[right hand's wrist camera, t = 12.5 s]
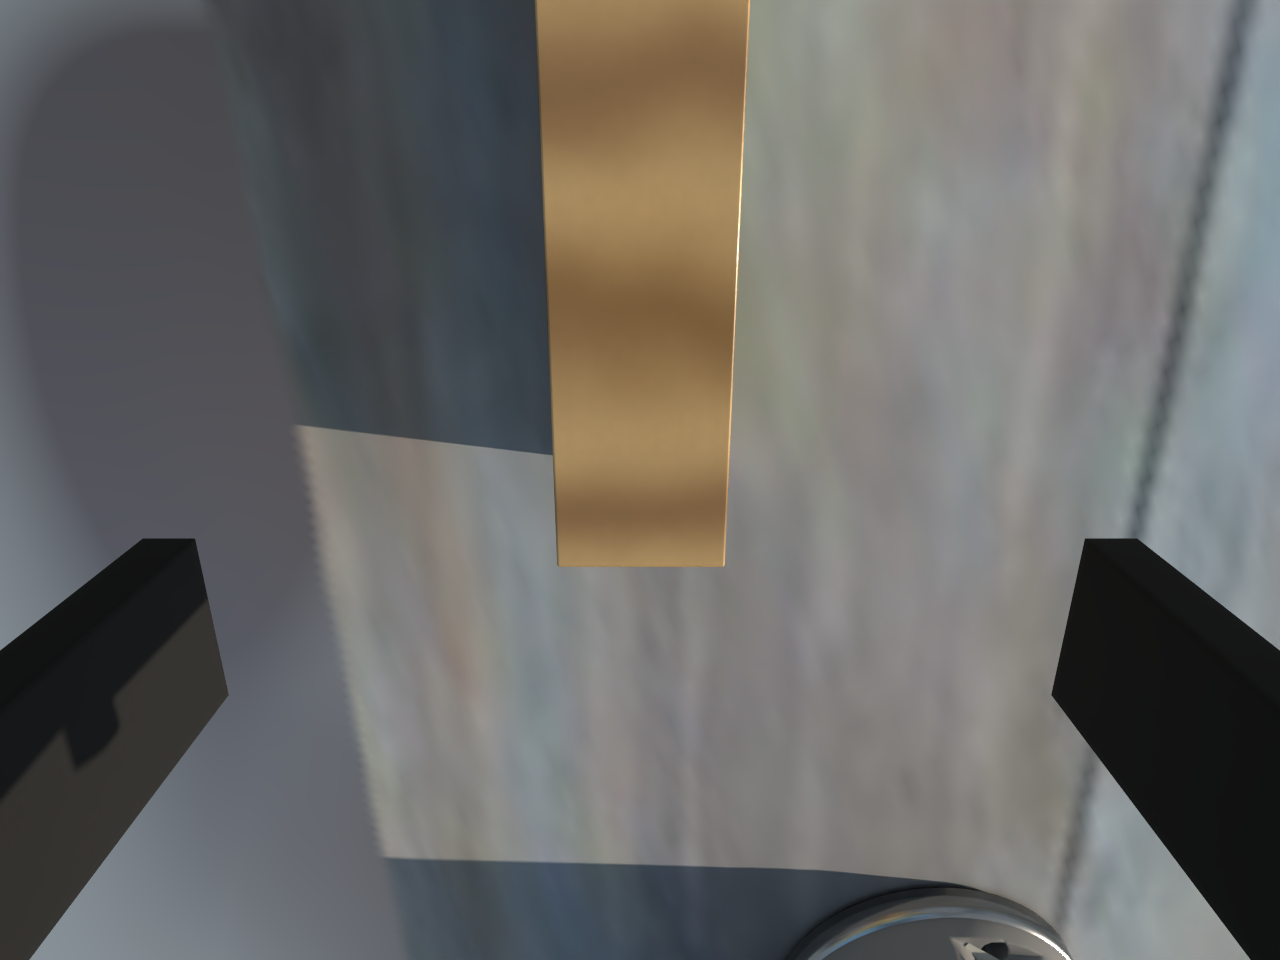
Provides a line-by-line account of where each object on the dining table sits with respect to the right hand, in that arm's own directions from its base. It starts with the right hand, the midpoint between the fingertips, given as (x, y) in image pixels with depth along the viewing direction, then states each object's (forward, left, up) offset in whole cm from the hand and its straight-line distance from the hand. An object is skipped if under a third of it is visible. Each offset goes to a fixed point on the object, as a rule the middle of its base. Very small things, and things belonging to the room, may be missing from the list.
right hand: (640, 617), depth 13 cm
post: (+15, +25, -19) cm, 35 cm away
